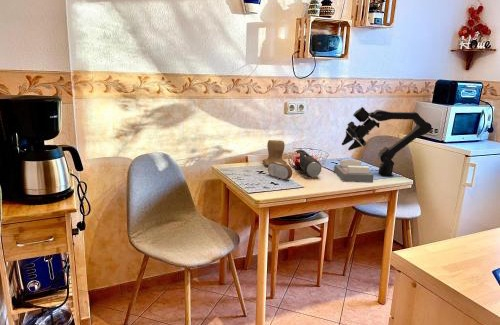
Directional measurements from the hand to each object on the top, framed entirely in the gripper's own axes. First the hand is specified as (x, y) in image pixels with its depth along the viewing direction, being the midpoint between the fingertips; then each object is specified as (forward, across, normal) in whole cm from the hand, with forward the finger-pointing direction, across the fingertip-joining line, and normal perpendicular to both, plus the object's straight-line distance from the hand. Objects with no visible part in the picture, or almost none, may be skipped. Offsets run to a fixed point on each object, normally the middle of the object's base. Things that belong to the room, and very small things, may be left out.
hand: (345, 147), depth 214 cm
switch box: (+8, -2, +16) cm, 18 cm away
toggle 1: (+5, -3, +9) cm, 11 cm away
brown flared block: (+37, +11, -19) cm, 44 cm away
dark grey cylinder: (+25, +10, 0) cm, 27 cm away
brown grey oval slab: (+34, +29, +2) cm, 45 cm away
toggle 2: (+4, +5, +19) cm, 20 cm away
